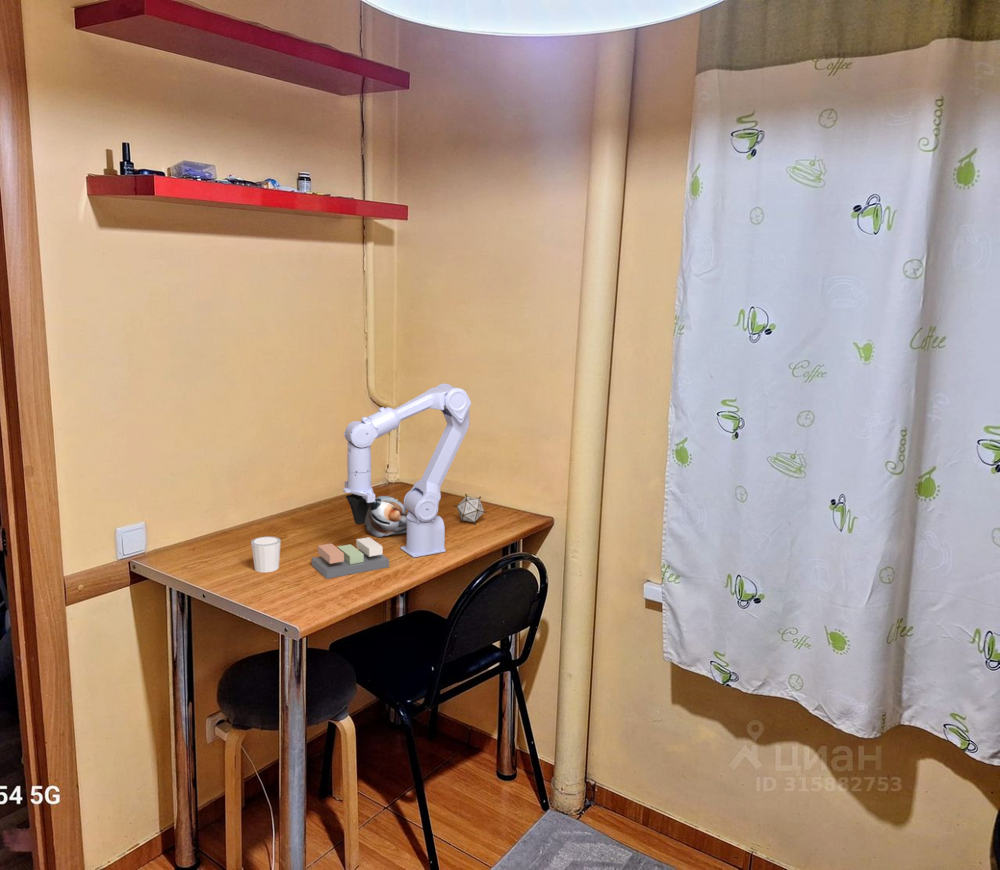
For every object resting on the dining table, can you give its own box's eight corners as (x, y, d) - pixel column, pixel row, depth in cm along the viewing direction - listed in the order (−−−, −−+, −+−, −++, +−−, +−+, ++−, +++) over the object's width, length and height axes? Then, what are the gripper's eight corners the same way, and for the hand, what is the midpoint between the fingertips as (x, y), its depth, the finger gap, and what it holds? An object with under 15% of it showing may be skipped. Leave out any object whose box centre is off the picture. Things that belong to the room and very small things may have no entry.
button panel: (372, 554, 203) (372, 547, 202) (389, 567, 194) (389, 559, 194) (311, 565, 194) (311, 557, 194) (326, 578, 186) (326, 570, 185)
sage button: (350, 551, 198) (350, 544, 198) (363, 561, 191) (363, 554, 191) (337, 554, 196) (337, 546, 196) (349, 564, 190) (349, 556, 189)
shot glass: (264, 575, 187) (263, 547, 185) (245, 568, 191) (244, 541, 189) (287, 567, 192) (286, 540, 191) (268, 561, 196) (268, 534, 195)
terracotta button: (331, 551, 195) (331, 543, 195) (344, 561, 189) (343, 553, 188) (317, 553, 193) (317, 545, 193) (330, 563, 187) (329, 555, 186)
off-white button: (369, 544, 201) (369, 537, 200) (382, 554, 194) (382, 546, 194) (356, 546, 199) (356, 539, 198) (369, 556, 192) (369, 548, 192)
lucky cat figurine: (423, 528, 224) (424, 493, 215) (398, 555, 216) (399, 520, 207) (379, 507, 229) (379, 471, 220) (353, 532, 220) (352, 497, 211)
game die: (464, 533, 233) (454, 501, 237) (491, 523, 233) (481, 492, 236) (458, 526, 225) (448, 494, 228) (487, 516, 225) (476, 484, 228)
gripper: (332, 465, 198) (333, 517, 201) (355, 478, 187) (356, 533, 189) (359, 462, 202) (359, 513, 205) (383, 475, 190) (383, 529, 193)
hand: (359, 523), depth 197 cm, fingers closed
